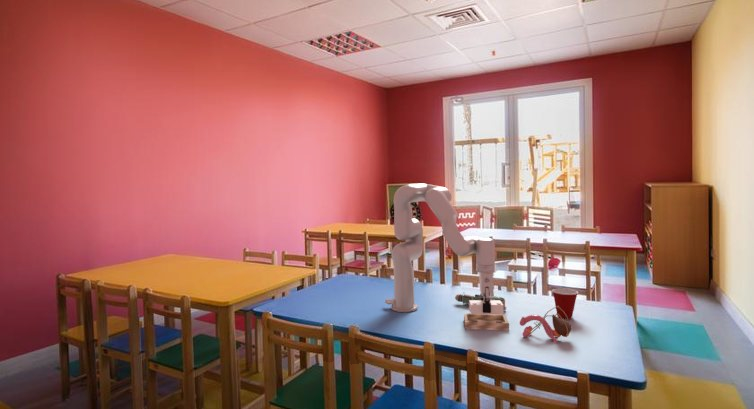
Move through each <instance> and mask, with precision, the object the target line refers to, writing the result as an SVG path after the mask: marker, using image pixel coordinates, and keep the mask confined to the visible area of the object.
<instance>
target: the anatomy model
mask: <svg viewBox="0 0 754 409" xmlns="http://www.w3.org/2000/svg"><path fill="white" fill-rule="evenodd" d="M556 307H558V308H559V306H554V307H552V308H551V309H550V310H548V311H547V312H546V313H545V314H544V316H541V315H539V314H529V315H527V316H522V317H521V319H520V320H519V325H520V327H524V326H525V325H526V324H527V323H529V322H531V321H534V322H533V324H534V325H535V326H534V327H533V326H532V325H530V326H529V325H528V326H526V327H525V328H524V329H523V332H522V336H523V338H528V337H530V336H532V334H533V333H534V332H535V331H536V330H537V329H541V326H542V327H543V329H544V332H545V333H546V336H547V337H549V338H550V339H552V341H553V342H554V343H555V344H557V343H558V341H557V339H556V338H560V337H564V338H567V337H569V335H570V333H571V332H572V325H571V323H570V321H569V320H570V319H568V317H567V315H566V314H565V312H564V311H563V310H562V309H561V308H559V309H561V310H562V311H563V312H564V314H565V315H566V317H567V319H562V318H561V316H560V315H559V314H558V313H557V312H556V314H551V315H549V314H548V313H549V312H551V311H552V310H554V309H556ZM547 314H548V315H547ZM557 314H558V315H559V316H560V318H558V316H557ZM547 317H552V325H553V328H552V327H551V326H550V324H549V323H548V322H547V320H546V318H547ZM537 322H538V323H537Z"/></svg>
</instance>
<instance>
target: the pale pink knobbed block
mask: <svg viewBox="0 0 754 409" xmlns="http://www.w3.org/2000/svg"><path fill="white" fill-rule="evenodd" d="M490 302H491V313H483V300H469V305H468V310H469V312H470V313H471V314H484V315H503V314H504V312H503V311H504V310H503V304H502V302H501V301H500V300H490Z"/></svg>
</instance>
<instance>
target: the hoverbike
mask: <svg viewBox="0 0 754 409" xmlns="http://www.w3.org/2000/svg"><path fill="white" fill-rule="evenodd" d="M454 298H455V299H454V300H456V301H457V302H461V303H462V305H464V306H469V300H481V298H483V297H482V296H481V293H480V294H477V293H476V294H475V295H471V294H470V295H469V294H465V293H463V294H461V293H458V294H456V295H455V297H454ZM490 300H500V301H501V302H502V304H503V313H504V312H505V311H506V310H507V306H506V299H505V298H504V297H502V296H497V295H496V296H495V295H494V296H493V297H492V296H491V295H490Z"/></svg>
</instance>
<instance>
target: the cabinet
mask: <svg viewBox="0 0 754 409" xmlns="http://www.w3.org/2000/svg"><path fill="white" fill-rule="evenodd" d="M463 322H464V330H479V331H480V330H482V331H483V330H484V331H510V322H509V320H508V318H507V316H506V313H505V314H504V313H503V315H484V314H471V312H470V313H466V312H464V313H463Z"/></svg>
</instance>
